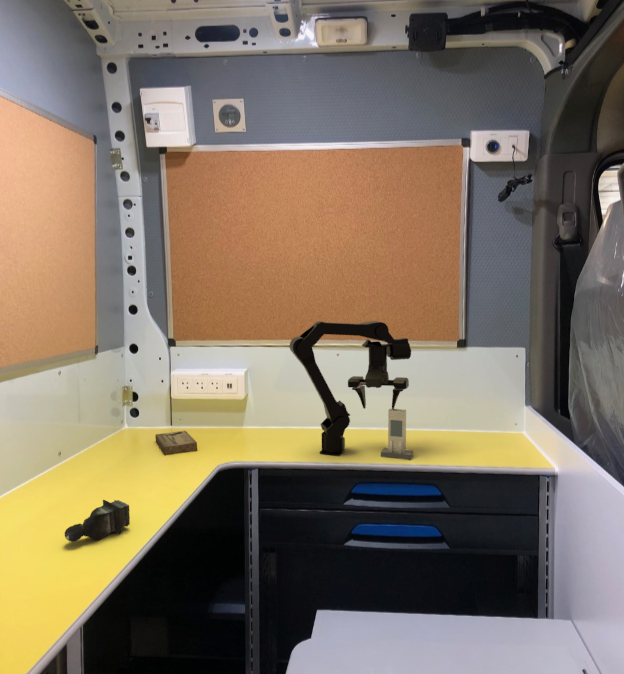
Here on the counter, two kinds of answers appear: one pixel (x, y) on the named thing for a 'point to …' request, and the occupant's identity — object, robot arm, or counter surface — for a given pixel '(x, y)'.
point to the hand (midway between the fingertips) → (378, 409)
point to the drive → (397, 429)
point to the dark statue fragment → (101, 522)
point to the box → (176, 442)
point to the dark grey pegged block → (406, 455)
